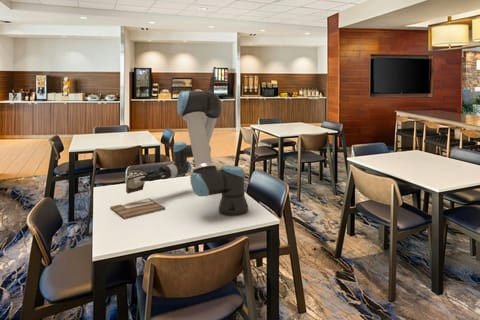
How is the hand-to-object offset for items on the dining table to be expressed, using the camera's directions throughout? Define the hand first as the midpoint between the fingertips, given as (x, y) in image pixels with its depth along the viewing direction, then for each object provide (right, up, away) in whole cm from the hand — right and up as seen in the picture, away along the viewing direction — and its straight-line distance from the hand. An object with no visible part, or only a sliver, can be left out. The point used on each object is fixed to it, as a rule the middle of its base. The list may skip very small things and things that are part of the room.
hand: (131, 180), depth 191 cm
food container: (-1, -5, +5) cm, 7 cm away
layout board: (+3, -15, -1) cm, 16 cm away
